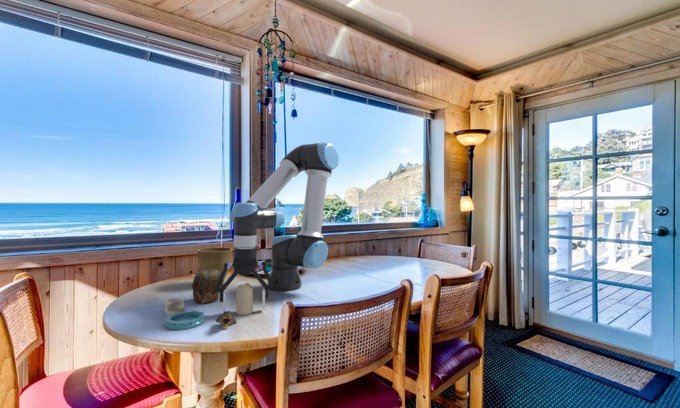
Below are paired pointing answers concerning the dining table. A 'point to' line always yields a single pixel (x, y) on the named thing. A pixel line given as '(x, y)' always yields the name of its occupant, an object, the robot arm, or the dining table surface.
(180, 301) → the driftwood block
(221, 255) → the plant pot
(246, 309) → the candle
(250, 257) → the robot arm
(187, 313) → the candle dish
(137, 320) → the dining table surface
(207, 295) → the brown rough lump
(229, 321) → the shark head
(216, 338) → the dining table surface
